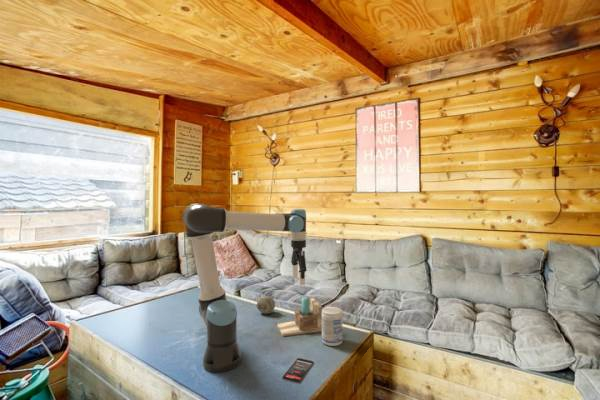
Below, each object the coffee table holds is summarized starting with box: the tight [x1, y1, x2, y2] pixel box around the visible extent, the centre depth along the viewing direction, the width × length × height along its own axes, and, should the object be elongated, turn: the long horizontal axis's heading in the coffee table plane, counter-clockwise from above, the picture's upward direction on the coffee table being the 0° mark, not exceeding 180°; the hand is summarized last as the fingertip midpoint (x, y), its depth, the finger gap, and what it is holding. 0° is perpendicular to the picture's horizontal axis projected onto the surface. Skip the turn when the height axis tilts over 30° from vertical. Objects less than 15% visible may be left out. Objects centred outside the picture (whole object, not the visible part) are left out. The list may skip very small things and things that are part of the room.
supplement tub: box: [321, 306, 343, 347], centre depth 139 cm, size 10×10×15 cm
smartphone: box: [281, 357, 315, 384], centre depth 117 cm, size 7×1×15 cm
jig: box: [276, 297, 323, 338], centre depth 154 cm, size 13×20×12 cm, turn 107°
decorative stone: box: [256, 295, 276, 315], centre depth 173 cm, size 10×8×10 cm
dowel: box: [301, 296, 310, 316], centre depth 154 cm, size 4×4×12 cm
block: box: [294, 308, 317, 330], centre depth 155 cm, size 9×9×6 cm
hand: (298, 281), depth 154 cm, fingers open, 13 cm apart
